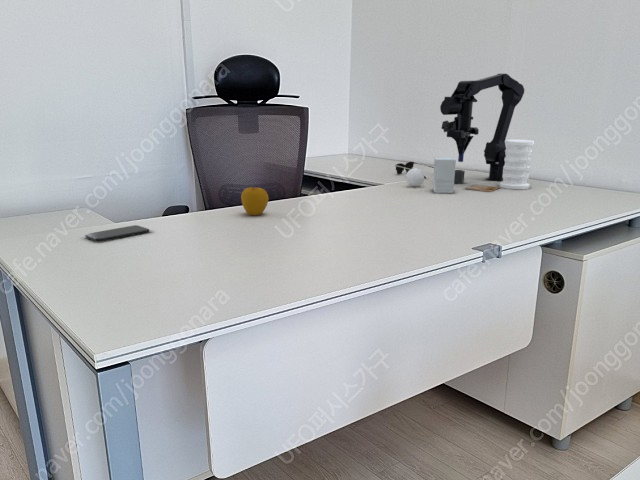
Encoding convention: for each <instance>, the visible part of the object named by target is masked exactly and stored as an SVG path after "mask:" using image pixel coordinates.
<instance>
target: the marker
mask: <svg viewBox="0 0 640 480" xmlns="http://www.w3.org/2000/svg"><path fill="white" fill-rule="evenodd" d="M464 155H465V152H464V149H463V152H462V154H459V153H458V157H457V158H458V159H457V162H459V163H464Z"/></svg>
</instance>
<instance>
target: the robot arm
mask: <svg viewBox="0 0 640 480" xmlns="http://www.w3.org/2000/svg"><path fill="white" fill-rule="evenodd" d="M494 87H498V90H499V91H500V92H501V101H502V107H501V111H500V114H499V117H498V121H497V123H496V127H495V130H494V133H493V138H492V139H491V141H490V142H489V141H487V142H486V143H485V148H484V150H483V156H484V159H485V164H486V165H489V170H488V171H489V172H488V173H489V174H488V177H486V178H485V180H487V181H490V180H491V181H497V182H502V181H503V173H504V168H503V167H504V165H505V161H504V158H505V157H506V153H505V150H506V148H507V145H506V144H505V140H507V135H508V132H509V130H510V129H509V128H510V125H511V122H512V118H513V116H514V112H515V109H516V107H517V105H518V104H520V102H521V101H522V99H523V96H524V94H525V88H524V85H523V84H522V83H520V82H519V81H518V80H516V79H514V78H513V77H511V76H510V75H509V74H508V73H497V74H495V75H491V76H488V77H484V78H483V77H482V78H479V79H476V80H461V81H459V82H458V83H457V84H456V88H455V89H454V91H453V92H452V94H451V96H444V99H443V100H442V101H441V104H440V105H439V107H440V108H439V109H440V113H441V114H442V115H443V116H451V115H452V116H453V115H456V116H455V117H454V118H453V120H452V121H449V120H444V121H442V124H441V127H440V129H442V130H443V133H446V138H451V139H453V140H454V141H455V144H456V147H457V153H458V155H459V154H462V152H463V149H464V153H465V152H466V150H467V148H468V147H469V145H470V143H471V141H472V140H473V138H474V135H476V136H478V135H479V131H480V130H479V127H475V126H472V120H474V116H473V106H474V105H473V104H474V103H478V99H476V97H475V96H476V95H477V94H479V93H480V92H481V91H484V90H487V89H490V88H494Z"/></svg>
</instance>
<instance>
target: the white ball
mask: <svg viewBox="0 0 640 480" xmlns="http://www.w3.org/2000/svg"><path fill="white" fill-rule="evenodd" d="M424 176H425V174H424V171H423V170H421V169H420V168H419V167H418V168H417V167H413V168H412V169H410V170H409V171H408V173H407V172H406V175H405V181H406V183H407V184H408V185H409V186H411V187H419V186H421V185H422V184H423V183H424V181H425V178H424Z"/></svg>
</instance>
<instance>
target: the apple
mask: <svg viewBox="0 0 640 480" xmlns="http://www.w3.org/2000/svg"><path fill="white" fill-rule="evenodd" d="M240 199H241V204H242V207H243V209H244V211H245V212H246V213H247V215H249V216H254V217H255V216H260V215H262V214H263V213H264V211H265V210H266V208H267V206H268V204H269V199H270V197H269V194H268V192H267V191H266V189H264V188H262V187H255V186H252V187H251V186H249V187H246V188H244V189H243V190H242V191H241V194H240Z"/></svg>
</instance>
